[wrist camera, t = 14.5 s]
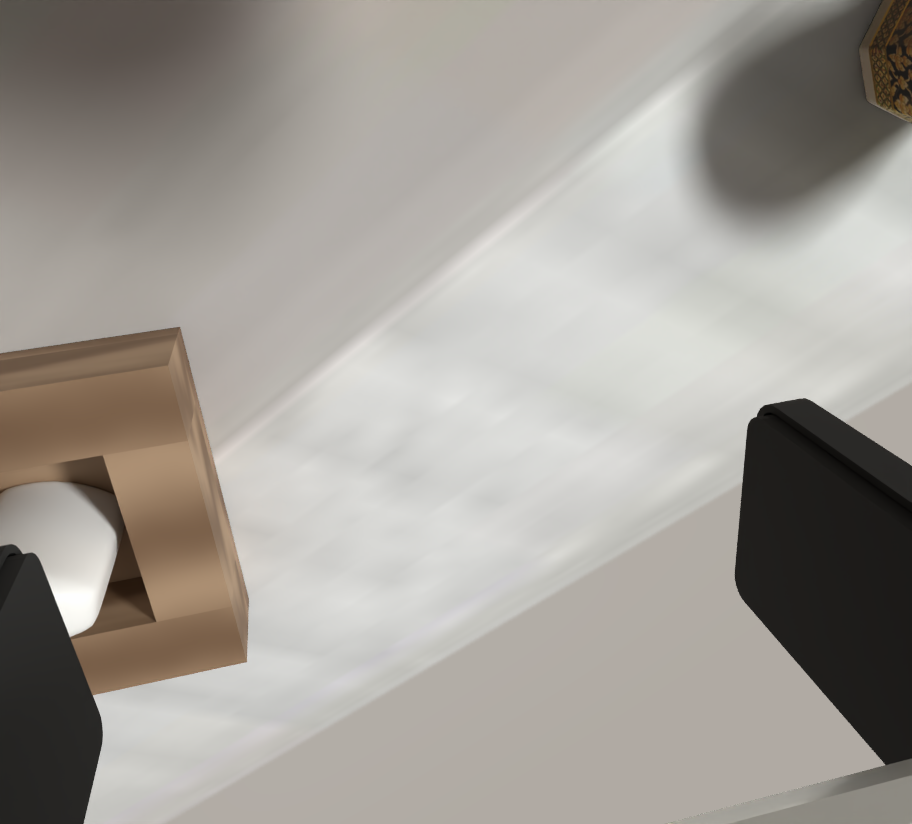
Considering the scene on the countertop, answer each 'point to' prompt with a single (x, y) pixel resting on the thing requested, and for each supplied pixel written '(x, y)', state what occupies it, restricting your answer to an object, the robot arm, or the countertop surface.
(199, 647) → the box
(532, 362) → the countertop surface
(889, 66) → the ceramic cup
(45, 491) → the eye dropper bottle
